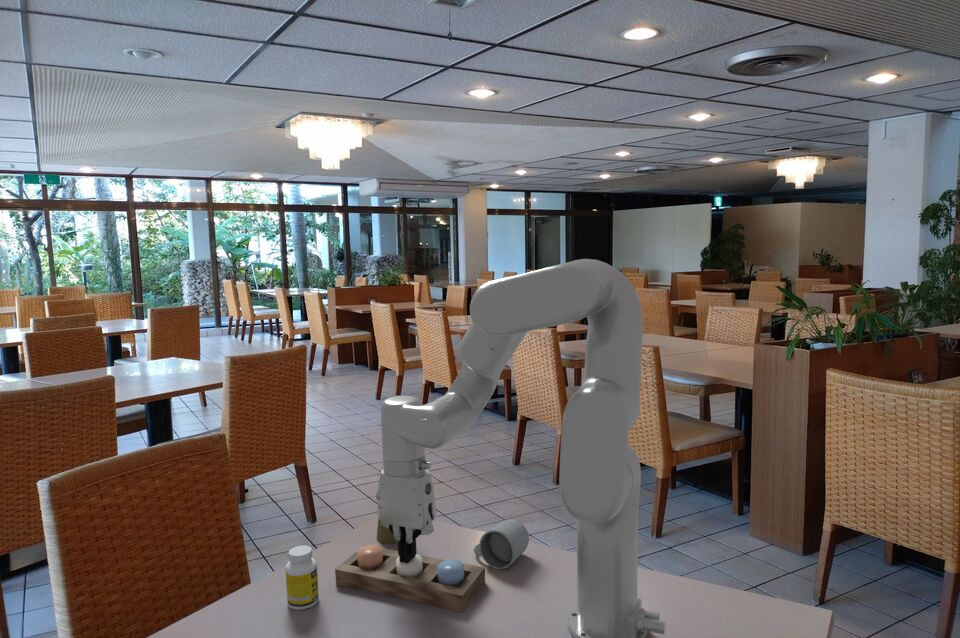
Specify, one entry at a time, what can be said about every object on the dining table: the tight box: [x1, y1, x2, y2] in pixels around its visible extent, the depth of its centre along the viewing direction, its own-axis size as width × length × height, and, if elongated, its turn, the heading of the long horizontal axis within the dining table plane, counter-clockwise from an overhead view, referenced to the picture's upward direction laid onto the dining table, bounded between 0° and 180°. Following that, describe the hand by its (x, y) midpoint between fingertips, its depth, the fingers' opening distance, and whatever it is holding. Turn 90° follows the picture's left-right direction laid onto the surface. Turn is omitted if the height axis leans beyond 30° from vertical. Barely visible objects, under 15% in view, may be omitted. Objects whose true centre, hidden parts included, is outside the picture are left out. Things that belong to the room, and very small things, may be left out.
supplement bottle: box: [284, 544, 320, 611], centre depth 117 cm, size 5×5×10 cm
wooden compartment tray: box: [334, 544, 486, 613], centre depth 123 cm, size 26×10×3 cm, turn 67°
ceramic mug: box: [473, 519, 530, 570], centre depth 131 cm, size 11×8×8 cm
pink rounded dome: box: [356, 544, 383, 570], centre depth 126 cm, size 5×5×3 cm
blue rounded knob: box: [437, 559, 465, 587], centre depth 119 cm, size 5×5×3 cm
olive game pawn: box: [375, 491, 398, 545], centre depth 141 cm, size 6×6×11 cm
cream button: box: [396, 553, 423, 579], centre depth 122 cm, size 5×5×3 cm
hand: (407, 559), depth 122 cm, fingers closed
